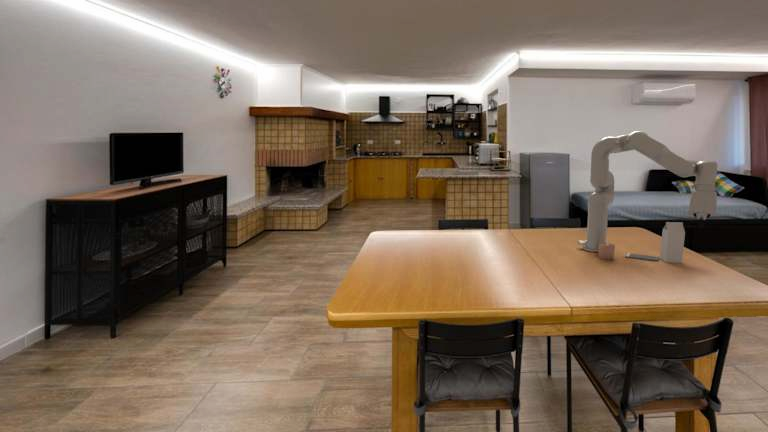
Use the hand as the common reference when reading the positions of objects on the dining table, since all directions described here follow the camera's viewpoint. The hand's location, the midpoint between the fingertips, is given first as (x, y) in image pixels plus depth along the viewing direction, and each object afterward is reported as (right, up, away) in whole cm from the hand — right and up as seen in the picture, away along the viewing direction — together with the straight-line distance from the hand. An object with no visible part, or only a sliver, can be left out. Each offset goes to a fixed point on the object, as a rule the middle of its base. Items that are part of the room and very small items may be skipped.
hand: (700, 227), depth 209 cm
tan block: (-37, -16, +15) cm, 43 cm away
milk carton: (-8, -17, +9) cm, 20 cm away
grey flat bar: (-19, -15, +15) cm, 28 cm away
